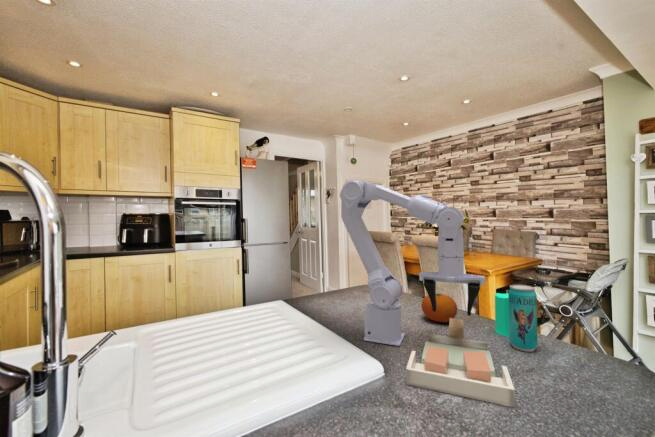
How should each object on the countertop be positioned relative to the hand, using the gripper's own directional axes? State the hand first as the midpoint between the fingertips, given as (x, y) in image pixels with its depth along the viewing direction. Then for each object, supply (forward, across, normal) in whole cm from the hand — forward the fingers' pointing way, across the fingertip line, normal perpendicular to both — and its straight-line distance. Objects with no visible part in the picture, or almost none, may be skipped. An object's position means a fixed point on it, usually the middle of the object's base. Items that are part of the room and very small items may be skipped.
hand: (451, 312), depth 70 cm
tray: (+9, +1, -14) cm, 17 cm away
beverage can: (+10, +16, +9) cm, 20 cm away
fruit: (+10, -4, +21) cm, 24 cm away
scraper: (+9, +1, +4) cm, 10 cm away
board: (+9, +1, -6) cm, 11 cm away
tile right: (+8, +5, -11) cm, 14 cm away
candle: (+10, +14, +18) cm, 24 cm away
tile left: (+8, -2, -11) cm, 14 cm away
